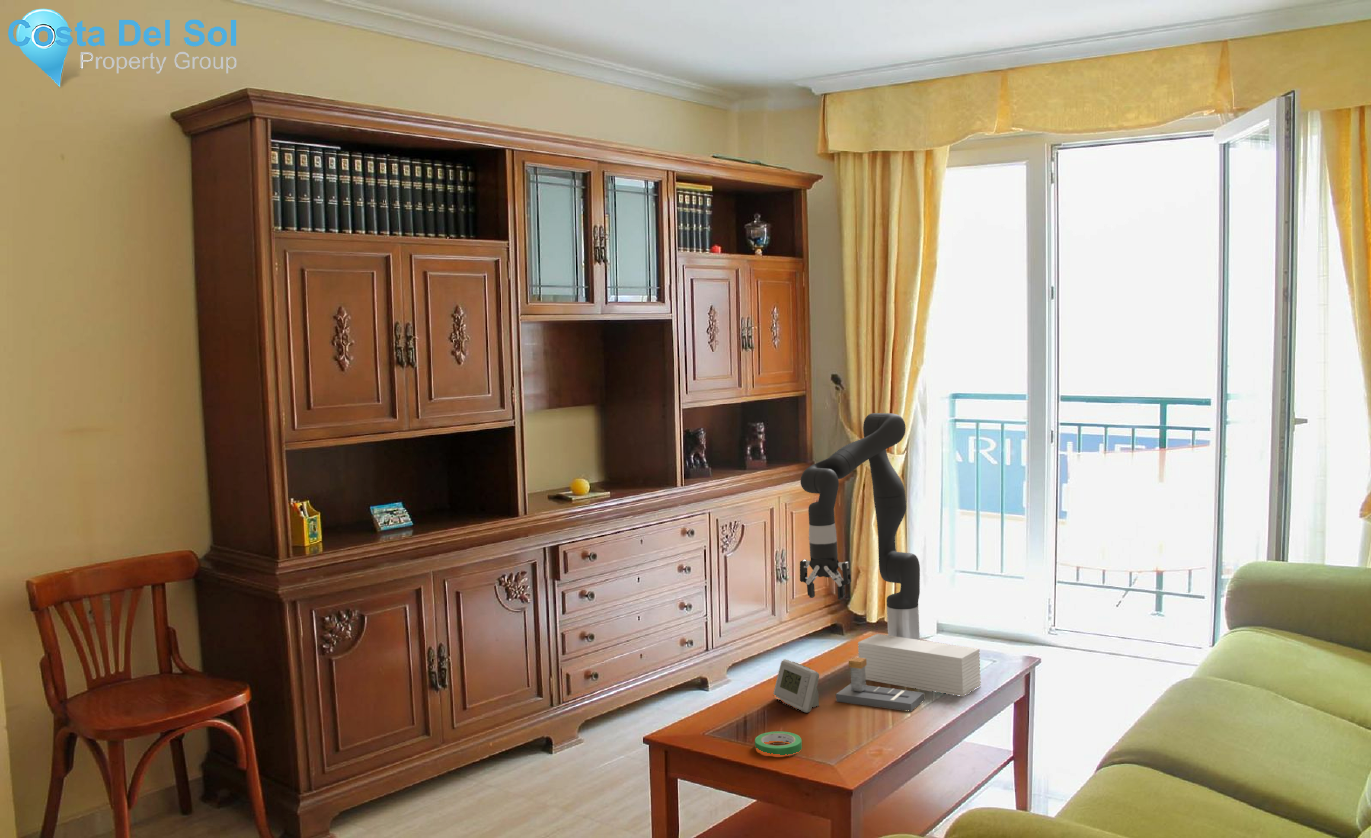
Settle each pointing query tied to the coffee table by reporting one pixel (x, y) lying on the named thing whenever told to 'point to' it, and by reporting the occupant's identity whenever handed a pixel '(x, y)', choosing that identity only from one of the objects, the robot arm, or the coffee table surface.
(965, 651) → the stack of papers
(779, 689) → the digital clock
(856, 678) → the fader
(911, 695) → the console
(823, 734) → the coffee table surface
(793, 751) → the tape roll
